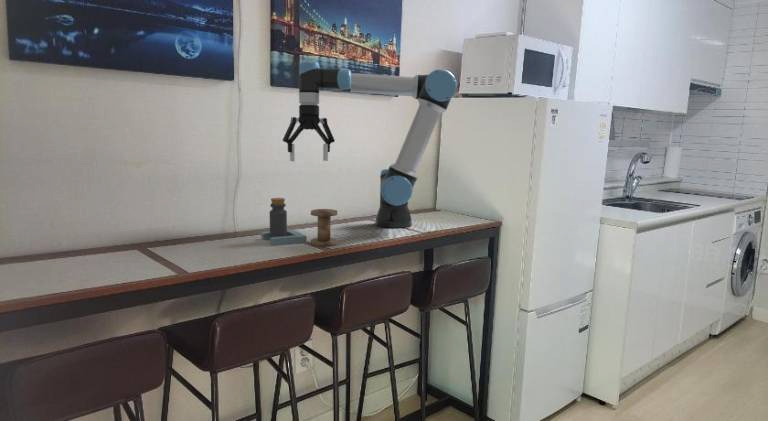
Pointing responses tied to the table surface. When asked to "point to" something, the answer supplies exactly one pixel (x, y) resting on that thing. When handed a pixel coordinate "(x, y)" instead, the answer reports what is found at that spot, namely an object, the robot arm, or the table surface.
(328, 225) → the wooden spool
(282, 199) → the bottle
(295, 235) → the bracket
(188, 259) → the table surface
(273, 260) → the table surface
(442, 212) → the table surface
